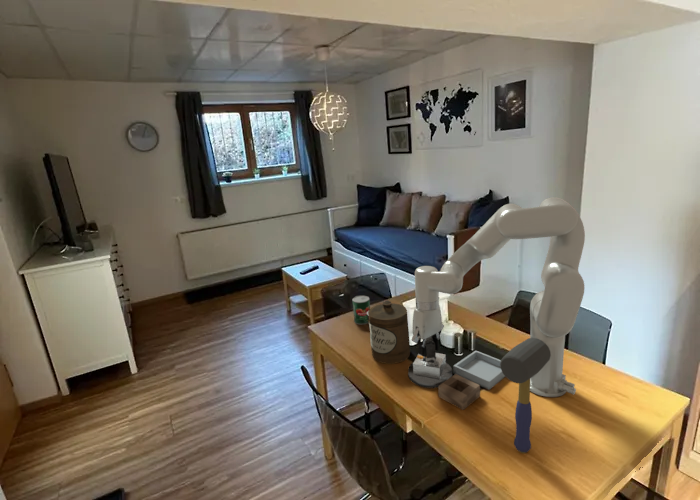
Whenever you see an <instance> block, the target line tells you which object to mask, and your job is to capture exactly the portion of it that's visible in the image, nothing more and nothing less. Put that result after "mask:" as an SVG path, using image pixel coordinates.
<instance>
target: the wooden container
mask: <svg viewBox="0 0 700 500" xmlns="http://www.w3.org/2000/svg"><path fill="white" fill-rule="evenodd" d="M408 317H409V316H408V309H407V308H406V307H405V305H402V304H399V303H392V301H390V300H384V301H383V302H382V303H380V304H376V305H374V306H373V307H370V310H369V323H370V327H369V331H370V332H369V338H370V347H371V356H372V358H373V359H374V360H375V361H377V362H379V363H382V364H386V365H387V364H388V365H389V364H398V363H401V362H404V361H405V360H407V359H409V357H410V354H411V347H410V343H411V342H410V330H409V320H408ZM369 323H368V324H369Z"/></svg>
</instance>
